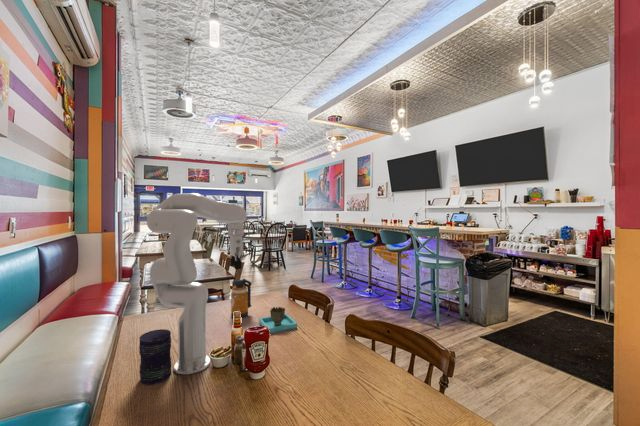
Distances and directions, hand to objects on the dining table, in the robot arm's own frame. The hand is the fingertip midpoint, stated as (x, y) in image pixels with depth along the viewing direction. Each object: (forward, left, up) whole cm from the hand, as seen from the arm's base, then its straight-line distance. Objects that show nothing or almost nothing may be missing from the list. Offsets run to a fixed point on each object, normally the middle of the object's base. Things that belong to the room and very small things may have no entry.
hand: (236, 267), depth 145 cm
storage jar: (-30, +34, -31) cm, 55 cm away
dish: (-7, -19, -30) cm, 36 cm away
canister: (+16, -6, -31) cm, 35 cm away
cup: (-7, -19, -30) cm, 36 cm away
